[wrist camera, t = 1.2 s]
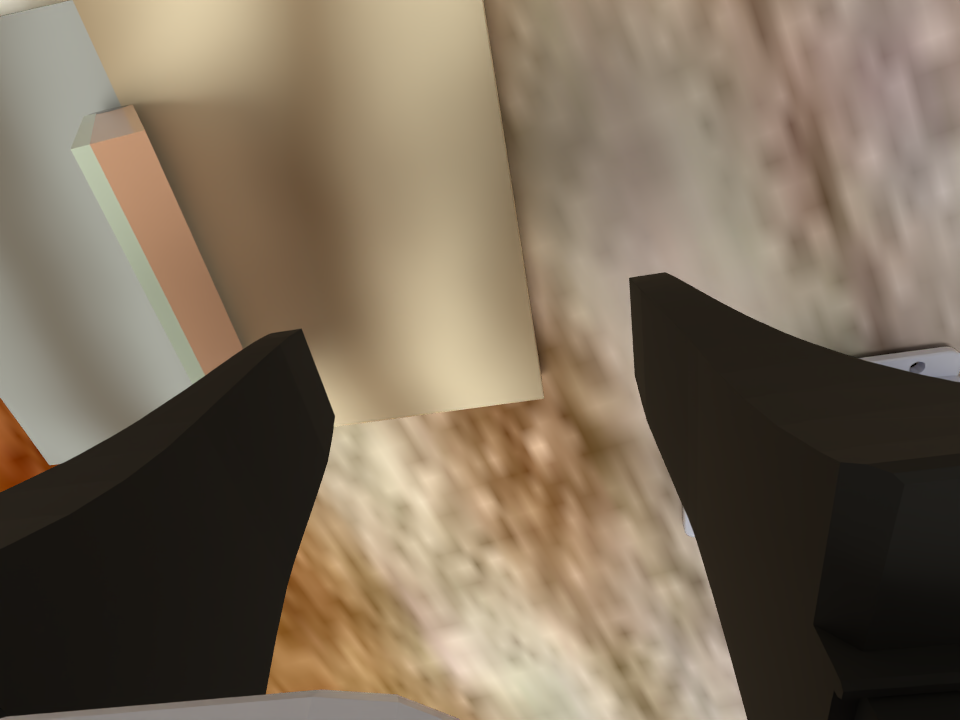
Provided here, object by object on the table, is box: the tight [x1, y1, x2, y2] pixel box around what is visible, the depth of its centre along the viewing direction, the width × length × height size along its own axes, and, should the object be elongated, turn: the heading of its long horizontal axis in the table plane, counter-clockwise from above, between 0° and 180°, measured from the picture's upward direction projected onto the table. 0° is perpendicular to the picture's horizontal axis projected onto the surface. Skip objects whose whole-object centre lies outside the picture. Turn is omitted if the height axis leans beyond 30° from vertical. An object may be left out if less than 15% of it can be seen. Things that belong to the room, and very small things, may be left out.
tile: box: [71, 105, 243, 384], centre depth 16 cm, size 8×9×1 cm
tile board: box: [0, 0, 544, 465], centre depth 20 cm, size 19×14×2 cm
